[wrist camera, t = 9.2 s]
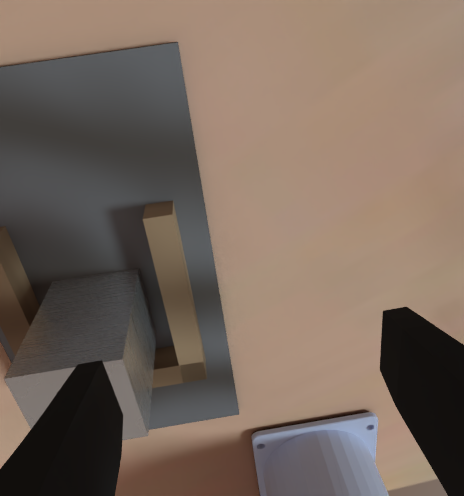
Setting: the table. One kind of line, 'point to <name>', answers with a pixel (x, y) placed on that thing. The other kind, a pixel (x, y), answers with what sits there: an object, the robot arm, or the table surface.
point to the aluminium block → (89, 345)
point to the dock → (114, 210)
